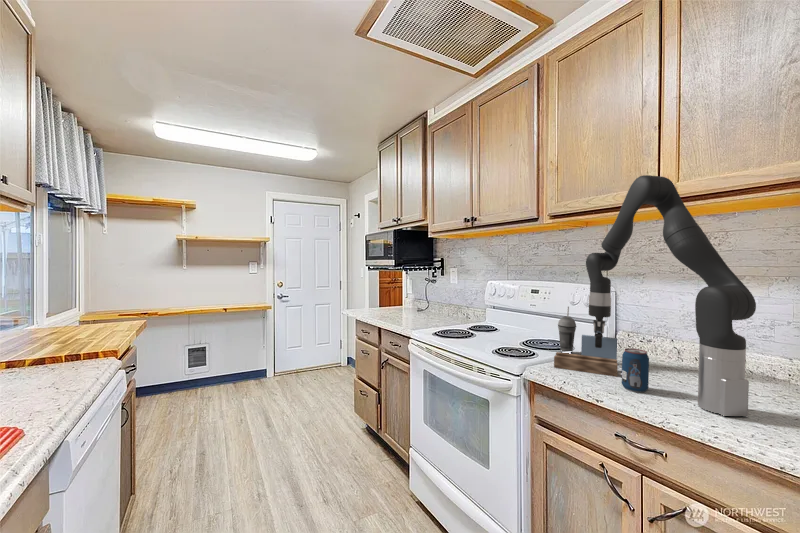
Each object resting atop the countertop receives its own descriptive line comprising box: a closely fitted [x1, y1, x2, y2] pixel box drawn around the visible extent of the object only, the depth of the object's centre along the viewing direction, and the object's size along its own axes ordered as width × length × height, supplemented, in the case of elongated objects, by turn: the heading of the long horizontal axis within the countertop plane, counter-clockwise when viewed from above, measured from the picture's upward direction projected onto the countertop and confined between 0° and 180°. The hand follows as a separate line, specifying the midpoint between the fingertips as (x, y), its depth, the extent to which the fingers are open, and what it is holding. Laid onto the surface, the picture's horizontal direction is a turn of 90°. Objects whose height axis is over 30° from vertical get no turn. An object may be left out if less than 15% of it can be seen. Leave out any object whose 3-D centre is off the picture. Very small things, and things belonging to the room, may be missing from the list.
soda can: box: [621, 347, 650, 394], centre depth 110 cm, size 7×7×12 cm
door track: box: [553, 351, 619, 377], centre depth 130 cm, size 20×8×4 cm, turn 60°
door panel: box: [580, 334, 618, 361], centre depth 139 cm, size 12×2×10 cm, turn 60°
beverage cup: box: [557, 306, 577, 352], centre depth 153 cm, size 7×7×20 cm
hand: (598, 345), depth 140 cm, fingers open, 8 cm apart
